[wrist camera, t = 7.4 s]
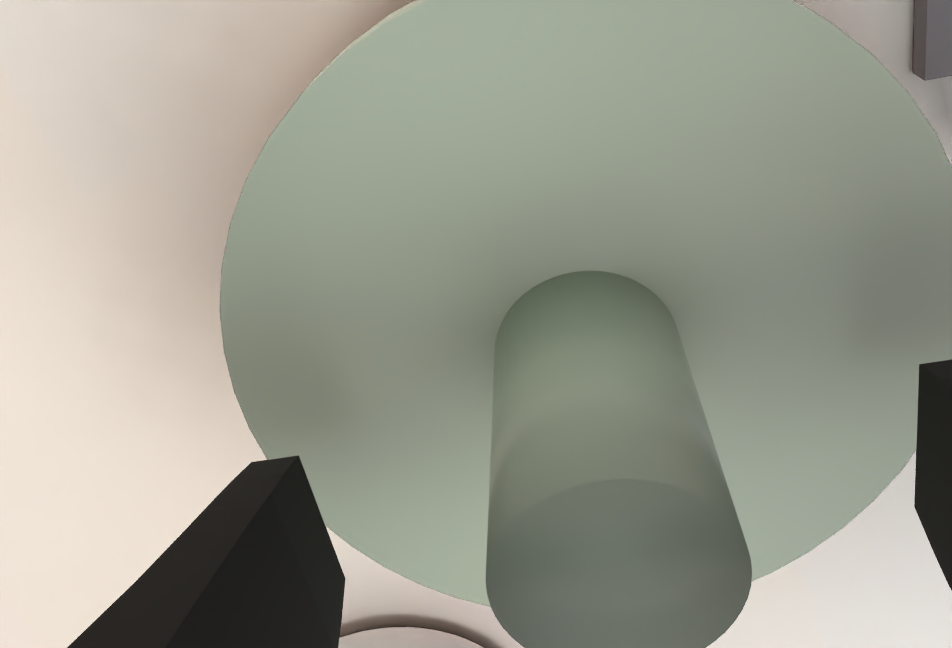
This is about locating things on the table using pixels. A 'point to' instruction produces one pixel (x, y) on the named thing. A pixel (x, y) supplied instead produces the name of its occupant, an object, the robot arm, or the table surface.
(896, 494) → the table surface
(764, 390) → the lid
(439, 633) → the supplement bottle
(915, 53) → the mat
